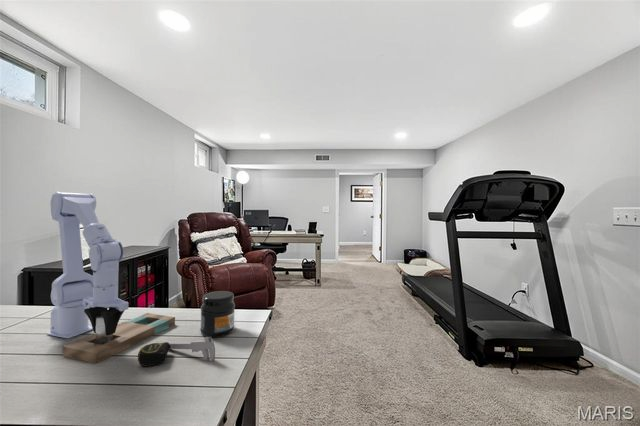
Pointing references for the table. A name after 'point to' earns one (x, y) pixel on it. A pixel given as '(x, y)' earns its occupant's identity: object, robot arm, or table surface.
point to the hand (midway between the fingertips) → (104, 332)
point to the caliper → (197, 347)
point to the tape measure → (153, 353)
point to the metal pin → (101, 332)
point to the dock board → (119, 338)
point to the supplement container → (217, 314)
